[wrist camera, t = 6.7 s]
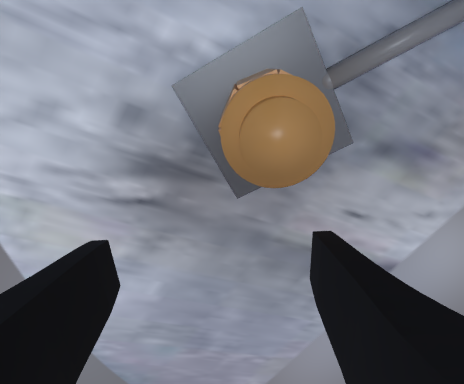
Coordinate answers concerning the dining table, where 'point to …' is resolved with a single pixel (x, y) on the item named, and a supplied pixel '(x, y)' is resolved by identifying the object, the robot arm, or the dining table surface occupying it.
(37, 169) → the dining table surface
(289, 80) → the wire nut
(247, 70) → the gray square paddle
